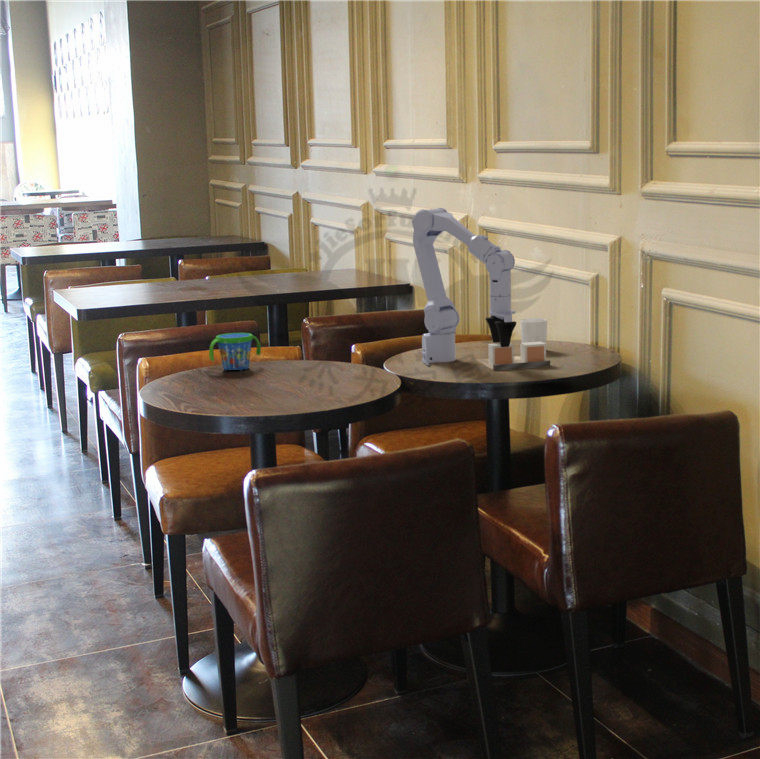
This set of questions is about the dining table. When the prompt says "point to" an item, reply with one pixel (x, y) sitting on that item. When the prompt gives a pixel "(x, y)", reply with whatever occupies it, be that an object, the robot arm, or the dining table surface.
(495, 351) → the carton
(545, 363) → the shelf board
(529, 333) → the white cup
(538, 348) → the faced carton
